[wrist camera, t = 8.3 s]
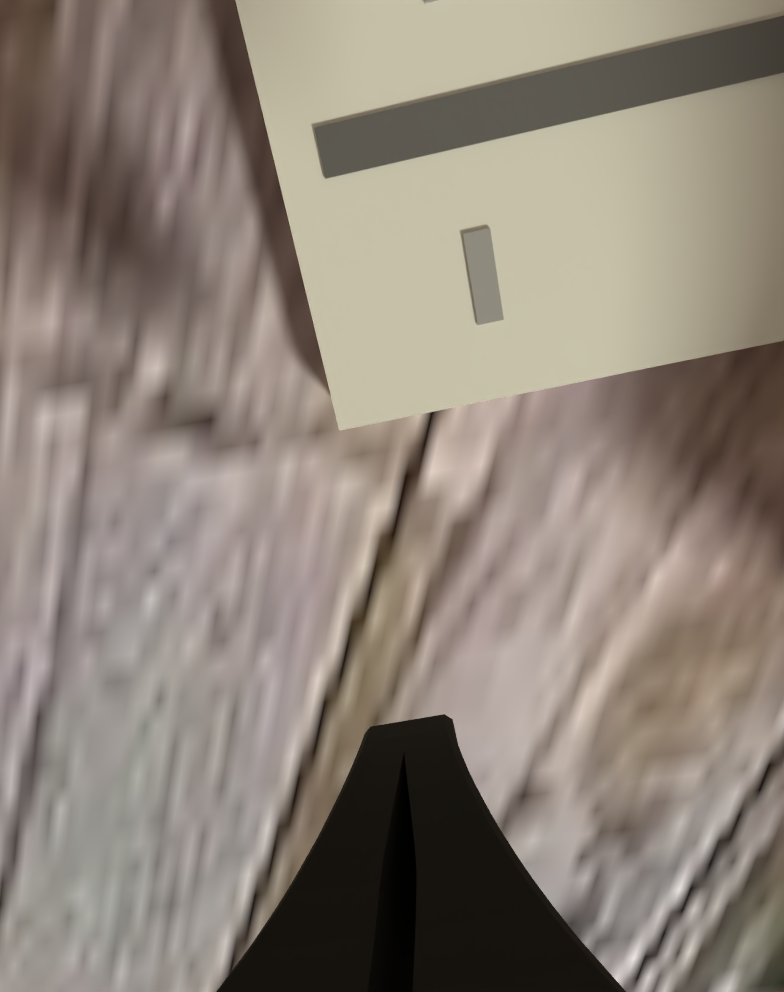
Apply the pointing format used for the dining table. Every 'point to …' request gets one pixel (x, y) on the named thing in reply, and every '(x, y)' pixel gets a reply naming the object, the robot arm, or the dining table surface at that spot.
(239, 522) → the dining table surface
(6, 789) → the dining table surface
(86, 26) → the dining table surface
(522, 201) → the fader console
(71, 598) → the dining table surface
